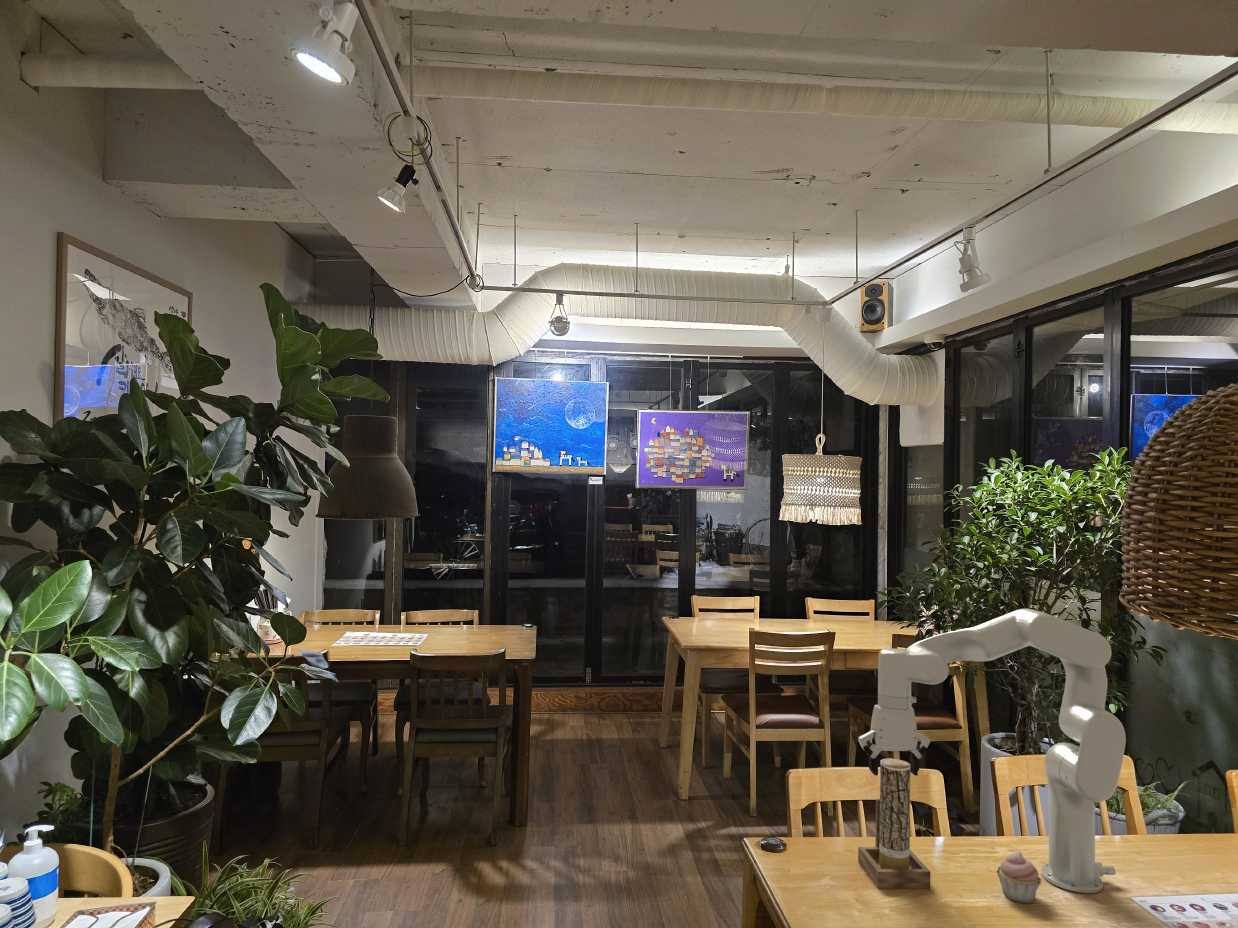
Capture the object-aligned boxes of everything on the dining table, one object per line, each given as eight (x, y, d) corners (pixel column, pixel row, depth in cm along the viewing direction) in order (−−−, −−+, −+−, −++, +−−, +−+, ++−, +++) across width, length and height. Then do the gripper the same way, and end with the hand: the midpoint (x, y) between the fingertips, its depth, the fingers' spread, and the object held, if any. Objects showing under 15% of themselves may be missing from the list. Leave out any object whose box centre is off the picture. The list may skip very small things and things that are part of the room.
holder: (905, 859, 190) (906, 798, 190) (930, 887, 176) (930, 821, 177) (856, 859, 189) (857, 798, 190) (877, 887, 176) (878, 821, 176)
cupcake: (1052, 905, 169) (1052, 859, 170) (1014, 908, 168) (1014, 862, 168) (1023, 884, 179) (1023, 841, 179) (987, 886, 177) (987, 843, 178)
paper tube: (911, 877, 178) (912, 769, 179) (881, 874, 180) (882, 766, 181) (906, 864, 185) (907, 759, 186) (877, 860, 186) (878, 757, 187)
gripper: (922, 697, 188) (922, 767, 187) (853, 696, 187) (852, 767, 186) (936, 706, 180) (936, 779, 180) (864, 705, 179) (864, 779, 179)
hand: (893, 773), depth 183 cm, fingers open, 9 cm apart
